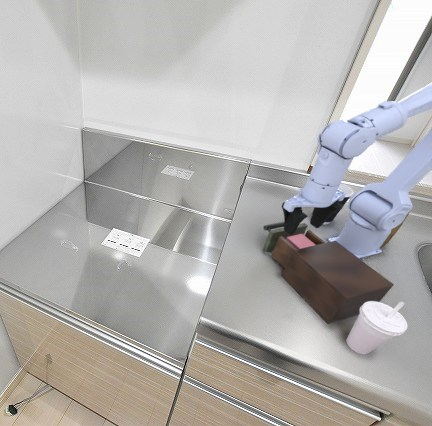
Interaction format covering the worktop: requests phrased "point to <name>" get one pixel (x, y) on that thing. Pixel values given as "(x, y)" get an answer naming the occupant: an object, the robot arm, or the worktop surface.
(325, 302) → the cabinet
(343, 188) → the dixie cup
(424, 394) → the worktop surface
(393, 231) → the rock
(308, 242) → the block
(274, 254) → the drawer
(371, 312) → the smoothie
